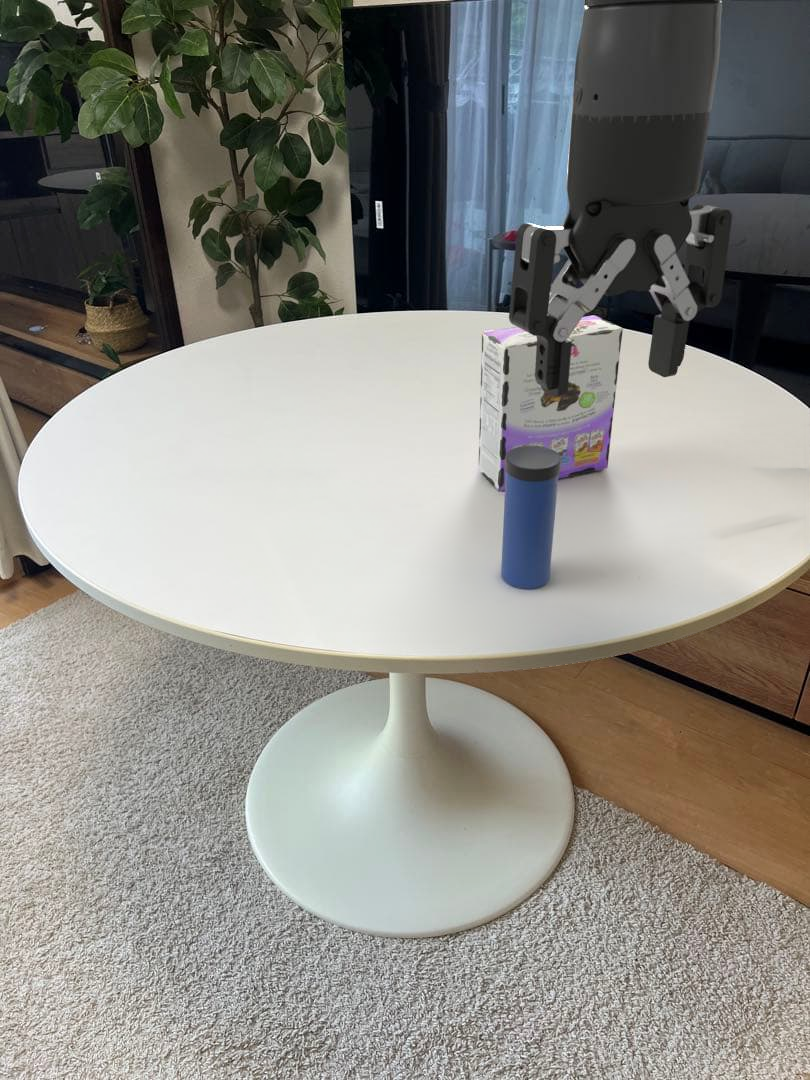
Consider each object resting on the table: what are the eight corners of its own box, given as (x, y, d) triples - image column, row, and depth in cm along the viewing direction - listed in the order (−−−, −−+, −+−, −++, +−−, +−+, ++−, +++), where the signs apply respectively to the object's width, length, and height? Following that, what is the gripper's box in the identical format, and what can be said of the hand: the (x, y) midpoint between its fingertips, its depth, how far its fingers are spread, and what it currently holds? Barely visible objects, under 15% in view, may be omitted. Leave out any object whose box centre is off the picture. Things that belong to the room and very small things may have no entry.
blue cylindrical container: (535, 557, 75) (543, 441, 68) (560, 583, 71) (571, 462, 65) (491, 568, 73) (495, 450, 67) (514, 594, 70) (521, 473, 63)
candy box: (581, 450, 94) (595, 312, 86) (608, 470, 90) (626, 327, 81) (476, 470, 90) (480, 328, 82) (498, 492, 86) (505, 344, 77)
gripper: (567, 115, 39) (545, 422, 47) (791, 101, 43) (734, 384, 51) (495, 108, 44) (487, 382, 53) (698, 96, 49) (661, 351, 57)
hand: (609, 383), depth 52 cm, fingers open, 8 cm apart
